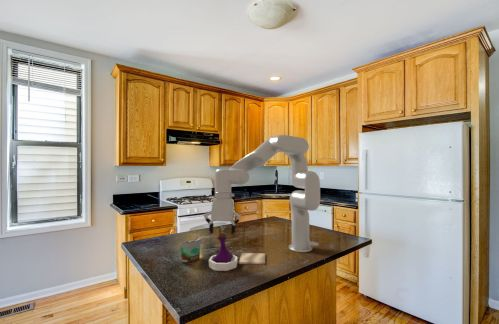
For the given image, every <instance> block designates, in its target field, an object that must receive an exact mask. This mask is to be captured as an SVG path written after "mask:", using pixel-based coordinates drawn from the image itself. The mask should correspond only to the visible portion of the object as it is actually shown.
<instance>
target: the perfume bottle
mask: <svg viewBox="0 0 499 324" xmlns="http://www.w3.org/2000/svg"><path fill="white" fill-rule="evenodd" d="M226 229H227V225H220V230H221V232H219V233H218V237H217V239H218V240H219V241H220V247H219V251H218V252H217V254H215V255H216V257H215V258H214V259H213V261H214V262H216V263H228V262H231V259H232V257H233V255H234V254H232V253H231V251H230V250H228V249H227V246H226V242H225V241H226V240H227V238H228V237H227V236H226V233H225V232H224V230H226Z"/></svg>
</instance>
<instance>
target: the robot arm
mask: <svg viewBox="0 0 499 324" xmlns="http://www.w3.org/2000/svg"><path fill="white" fill-rule="evenodd" d="M309 145H310V144H309V142H308V141H307V139H305V138H303V137H300V136H293V135H288V134H287V135H286V134H278V135H273V136H269V137H268V138H267V139H266V140H265V141H264V142H263V143H261V144H260V145H259V146H258V147H256V149H254V150H253V151H251V152H250V153H249V154H247V155H245V156H244V157H242V158H240V159H239V160H237V161H236V162H235V163H234V164H232V165H231V166H230V167H229V168H217V169H216V170H215V171H214V198H213V200H212V202H211V203H212V204H211V210H210V211H208V212H206V213H204V214H203V217H204V219H205V222H206V223H207V224H208V227H209V229H208V230H209V233H210V234H213V233H214V222H230V223H231V235H234V234H235V233H236V225H237V224H238V223H239V222H240V220H241V218H242V215H241V214H239V213H238V212H236V211H235V205H234V199H233V198H232V197H235V193H232V185H237V186H242V185H245V184H247V183H248V182H249V179H250V174H249V171H252V170H253V169H257V168H260V167H262V166H264V165H266V164H267V162H269V161H270V160H271V159H272V158H273V157H274V156H275V155H276V154H278V153H284V155H286V156H287V157H288V159H289V160H290V163H291V184H292V185H293V187H295V188H298V189H303V190H298V189H297V190H294V191H292V192H291V193H290V196H289V205H290V210H291V211H290V212H291V244H289V245H288V249H289V250H290V251H292V252H295V253H308V252H311V251H313V247H319V242H316V241H311V240H310V213H309V211H310V212H311V211H312V212H313V211H316V210H317V209H318V208H319V207H320V205H321V204H320V203H321V180H320V178H319V175H318V173H316V172H315V171H312V170H308V169H309V168H308V167H309V166H308V161H307V159H308V158H306V156H305V154H306V153H307V152H308V151H309V147H310V146H309ZM209 216H210V218H211V219H210V218H209ZM235 217H237V218H236V219H235Z"/></svg>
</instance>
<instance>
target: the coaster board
mask: <svg viewBox="0 0 499 324" xmlns="http://www.w3.org/2000/svg"><path fill="white" fill-rule="evenodd" d="M239 257H240V258H239V261H238V264H239V265H266V253H264V252H263V253H255V252H242V253H241V254H240V256H239Z"/></svg>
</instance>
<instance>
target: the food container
mask: <svg viewBox="0 0 499 324" xmlns="http://www.w3.org/2000/svg"><path fill="white" fill-rule="evenodd" d="M202 244H203V240H202V238H201V237H200V236H197V237H196V238H194V239H189V240H187V241H184V242H182V241H180V242H179V248H180V253H181V254H180V257H181V263H182V264H188V265H189V264H195V263H197V262H199V261H200V255H201V245H202Z"/></svg>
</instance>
